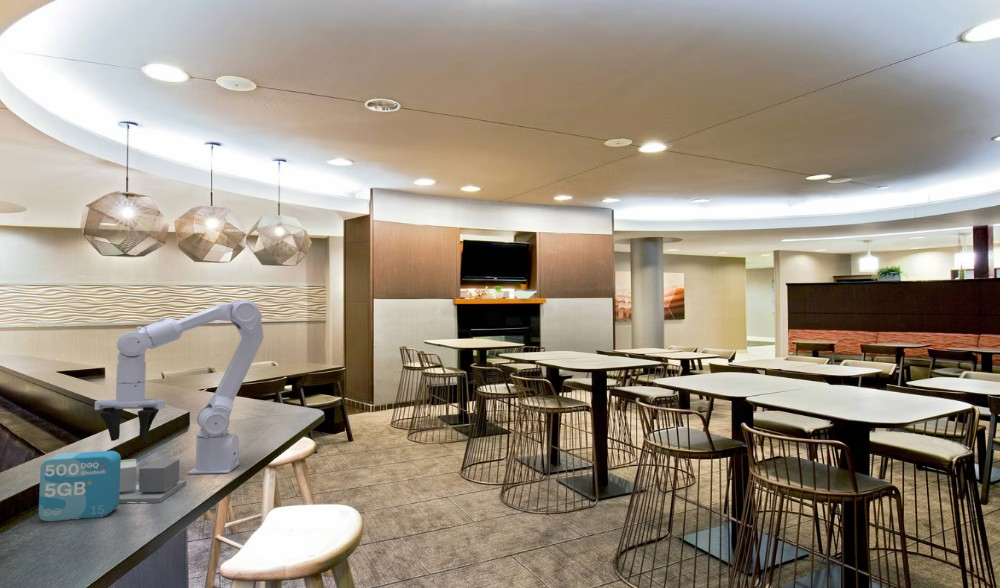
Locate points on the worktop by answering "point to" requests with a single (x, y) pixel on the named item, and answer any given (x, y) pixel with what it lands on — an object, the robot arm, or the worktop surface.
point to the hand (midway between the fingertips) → (129, 439)
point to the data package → (79, 485)
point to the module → (128, 475)
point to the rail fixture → (155, 482)
